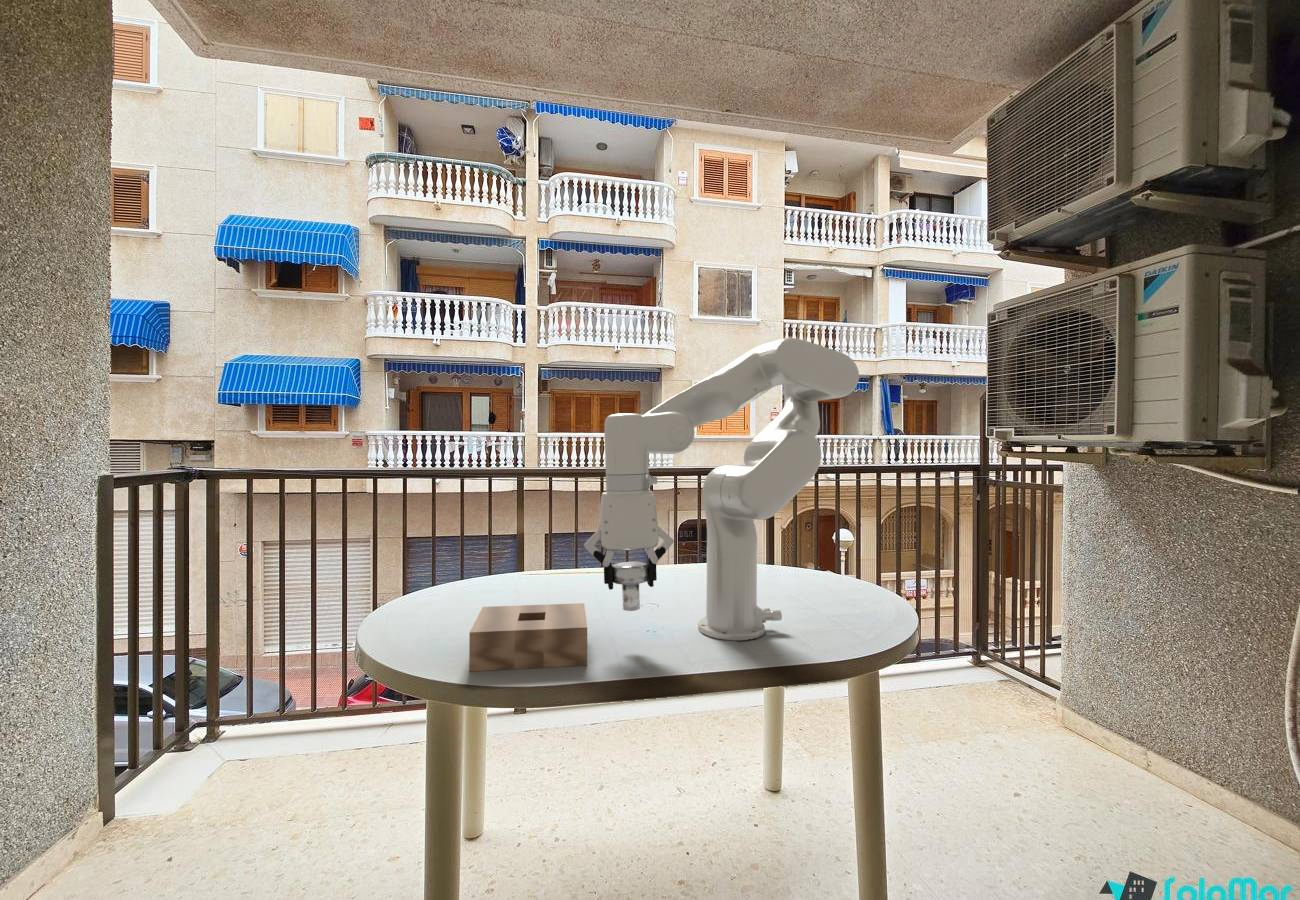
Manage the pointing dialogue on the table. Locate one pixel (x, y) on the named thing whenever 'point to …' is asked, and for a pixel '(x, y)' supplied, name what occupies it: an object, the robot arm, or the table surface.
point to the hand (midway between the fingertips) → (630, 585)
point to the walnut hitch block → (528, 637)
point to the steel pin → (630, 582)
